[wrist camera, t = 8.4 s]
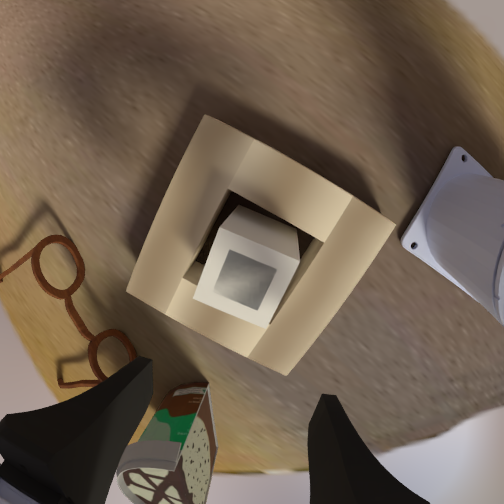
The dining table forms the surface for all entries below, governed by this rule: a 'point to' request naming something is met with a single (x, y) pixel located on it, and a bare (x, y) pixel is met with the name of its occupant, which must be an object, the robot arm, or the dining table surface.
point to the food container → (173, 451)
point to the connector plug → (249, 266)
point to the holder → (277, 202)
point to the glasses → (72, 306)
